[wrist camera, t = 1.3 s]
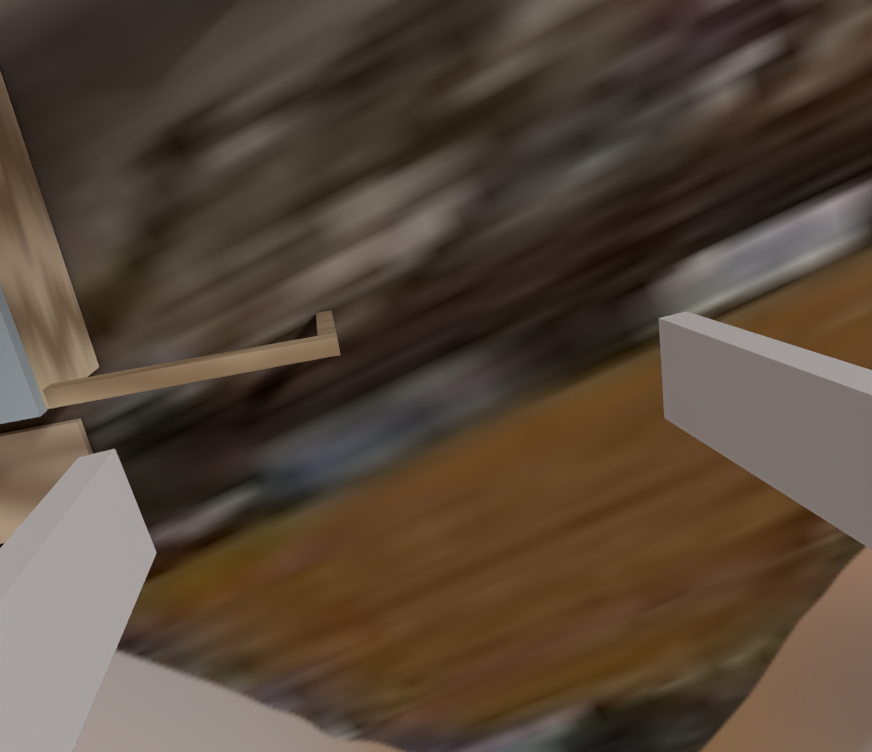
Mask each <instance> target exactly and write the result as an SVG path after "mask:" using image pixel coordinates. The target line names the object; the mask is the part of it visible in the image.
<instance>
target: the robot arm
mask: <svg viewBox="0 0 872 752" xmlns="http://www.w3.org/2000/svg"><path fill="white" fill-rule="evenodd" d="M659 331H660V349H661V366H662V383H663V401H664V418H665V419H667V420H668V421H670V422H672V423H673V424H675V425H676V426H678V427H679V428H681V429H683V430H684V431H686V432H687V433H689V434H690V435H692V436H694V437H695V438H697V439H698V440H700V441H701V442H703V443H705V444H706V445H708V446H709V447H711V448H712V449H714V450H716V451H717V452H719V453H720V454H722V455H723V456H725V457H727V458H728V459H730V460H731V461H733V462H735V463H736V464H738V465H739V466H741V467H742V468H744V469H746V470H747V471H749V472H750V473H752V474H753V475H755V476H757V477H758V478H760V479H761V480H763V481H764V482H766V483H768V484H769V485H771V486H772V487H774V488H775V489H777V490H779V491H780V492H782V493H783V494H785V495H786V496H788V497H790V498H791V499H793V500H794V501H796V502H797V503H799V504H801V505H802V506H804V507H805V508H807V509H808V510H810V511H812V512H813V513H815V514H816V515H818V516H820V517H821V518H823V519H824V520H826V521H827V522H829V523H831V524H832V525H834V526H835V527H837V528H838V529H840V530H842V531H843V532H845V533H846V534H848V535H849V536H851V537H853V538H854V539H856V540H857V541H859V542H860V543H862V544H864V545H865V546H867V547H868V548H870V549H872V370H869V369H866V368H863V367H860V366H856V365H853V364H850V363H847V362H844V361H841V360H837V359H834V358H831V357H828V356H825V355H822V354H819V353H815V352H812V351H809V350H806V349H803V348H800V347H797V346H793V345H790V344H787V343H784V342H781V341H778V340H774V339H771V338H768V337H765V336H762V335H759V334H756V333H752V332H749V331H746V330H743V329H740V328H737V327H733V326H730V325H727V324H724V323H721V322H718V321H715V320H711V319H708V318H705V317H702V316H699V315H696V314H692V313H689V312H683V313H679V314H674V315H670V316H666V317H662V318H659ZM155 555H156V550H155V548H154V545H153V543H152V540H151V538H150V535H149V533H148V530H147V528H146V525H145V523H144V520H143V518H142V515H141V513H140V510H139V508H138V505H137V503H136V500H135V498H134V495H133V493H132V490H131V488H130V485H129V483H128V480H127V478H126V475H125V473H124V470H123V468H122V465H121V463H120V460H119V457H118V455H117V452H116V450H115V449H112V450H107V451H103V452H99V453H95V454H91V455H87V456H82V457H79V458H78V459H77V460H76V461H75V462H74V463H73V465H72V466H71V467H70V468H69V469H68V470H67V472H66V473H65V474H64V475H63V476H62V477H61V478H60V480H59V481H58V482H57V483H56V484H55V485H54V487H53V488H52V489H51V490H50V491H49V492H48V494H47V495H46V496H45V497H44V498H43V499H42V501H41V502H40V503H39V504H38V505H37V506H36V507H35V509H34V510H33V511H32V512H31V513H30V514H29V516H28V517H27V518H26V519H25V520H24V521H23V523H22V524H21V525H20V526H19V527H18V528H17V529H16V531H15V532H14V533H13V534H12V535H11V536H10V538H9V539H8V540H7V541H6V542H5V543H4V545H3V546H2V547H1V548H0V752H73V751H74V748H75V746H76V743H77V741H78V739H79V736H80V734H81V731H82V729H83V727H84V724H85V722H86V719H87V717H88V715H89V712H90V710H91V707H92V705H93V703H94V700H95V698H96V696H97V693H98V691H99V688H100V686H101V684H102V681H103V679H104V677H105V674H106V672H107V669H108V667H109V665H110V662H111V660H112V657H113V655H114V653H115V650H116V648H117V646H118V643H119V641H120V638H121V636H122V634H123V631H124V629H125V627H126V624H127V622H128V619H129V617H130V615H131V612H132V610H133V607H134V605H135V603H136V600H137V598H138V596H139V593H140V591H141V588H142V586H143V584H144V581H145V579H146V576H147V574H148V572H149V569H150V567H151V565H152V562H153V560H154V557H155Z"/></svg>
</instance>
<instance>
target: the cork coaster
mask: <svg viewBox="0 0 872 752" xmlns="http://www.w3.org/2000/svg"><path fill="white" fill-rule="evenodd" d="M91 454H93V452H92V449H91V446H90V443H89V441H88V438H87V435H86V432H85V429H84V427H83V424H82V421H81V418H80V419H75V420H69V421H64V422H59V423H53V424H48V425H43V426H38V427H32V428H27V429H22V430H16V431H11V432H6V433H1V434H0V544H2V543H5V542H6V541H7V540H8V539H9V538H10V536H11V535H12V534H13V533H14V532H15V531H16V529H17V528H18V527H19V526H20V525H21V524H22V523H23V521H24V520H25V519H26V518H27V517H28V516H29V514H30V513H31V512H32V511H33V510H34V509H35V507H36V506H37V505H38V504H39V503H40V502H41V501H42V499H43V498H44V497H45V496H46V495H47V494H48V492H49V491H50V490H51V489H52V488H53V487H54V485H55V484H56V483H57V482H58V481H59V480H60V478H61V477H62V476H63V475H64V474H65V473H66V472H67V470H68V469H69V468H70V467H71V466H72V465H73V463H74V462H75V461H76V460H77V459H78V458H79V457H82V456H87V455H91Z"/></svg>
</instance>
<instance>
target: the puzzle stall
mask: <svg viewBox="0 0 872 752" xmlns="http://www.w3.org/2000/svg"><path fill="white" fill-rule="evenodd" d="M0 286H1V288H2V291H3V294H4V296H5V299H6V302H7V304H8V307H9V310H10V312H11V315H12V318H13V320H14V323H15V326H16V329H17V331H18V334H19V337H20V339H21V342H22V345H23V347H24V350H25V353H26V355H27V358H28V361H29V363H30V366H31V369H32V371H33V374H34V377H35V380H36V382H37V385H38V388H39V390H40V393H41V396H42V398H43V401H44V404H45V406H46V409H51V408H56V407H62V406H67V405H72V404H78V403H83V402H89V401H94V400H99V399H105V398H110V397H116V396H121V395H126V394H132V393H137V392H142V391H148V390H153V389H159V388H164V387H169V386H175V385H180V384H186V383H191V382H196V381H202V380H207V379H213V378H218V377H223V376H229V375H234V374H240V373H245V372H250V371H256V370H261V369H267V368H272V367H277V366H283V365H288V364H293V363H299V362H304V361H310V360H315V359H320V358H326V357H331V356H337V355H340V350H339V345H338V340H337V335H336V330H335V325H334V320H333V315H332V310H331V311H325V312H319V313H316V320H317V335H318V336H314V337H309V338H303V339H298V340H292V341H286V342H281V343H275V344H270V345H264V346H259V347H253V348H248V349H242V350H236V351H231V352H225V353H220V354H214V355H209V356H203V357H197V358H192V359H186V360H181V361H175V362H170V363H164V364H158V365H153V366H147V367H142V368H136V369H131V370H125V371H119V372H114V373H108V374H103V375H97V376H92V377H88V376H89V375H90V374H92V373H93V372H94V371H95V370H96V369H98V368H99V365H98V362H97V359H96V356H95V353H94V350H93V347H92V344H91V341H90V338H89V335H88V332H87V329H86V326H85V323H84V320H83V317H82V314H81V311H80V308H79V305H78V302H77V299H76V296H75V293H74V290H73V287H72V284H71V281H70V278H69V275H68V272H67V269H66V266H65V263H64V260H63V257H62V254H61V251H60V248H59V245H58V242H57V239H56V236H55V233H54V230H53V227H52V224H51V221H50V218H49V215H48V212H47V209H46V206H45V203H44V200H43V197H42V194H41V191H40V188H39V185H38V182H37V179H36V176H35V173H34V170H33V167H32V164H31V161H30V158H29V155H28V152H27V149H26V146H25V143H24V140H23V137H22V134H21V131H20V128H19V125H18V122H17V119H16V116H15V113H14V110H13V107H12V104H11V101H10V98H9V95H8V92H7V89H6V86H5V83H4V80H3V77H2V74H1V71H0Z"/></svg>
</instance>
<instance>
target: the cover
mask: <svg viewBox="0 0 872 752" xmlns="http://www.w3.org/2000/svg"><path fill="white" fill-rule="evenodd" d="M46 411H47V409H46V406H45V404H44V401H43V398H42V396H41V393H40V390H39V388H38V385H37V382H36V380H35V377H34V374H33V371H32V369H31V366H30V363H29V361H28V358H27V355H26V353H25V350H24V347H23V345H22V342H21V339H20V337H19V334H18V331H17V329H16V326H15V323H14V320H13V318H12V315H11V312H10V310H9V307H8V304H7V302H6V299H5V296H4V294H3V291H2V288H1V286H0V424H3V423H8V422H14V421H19V420H25V419H30V418H35V417H40V416H42V415H43V414H44V413H45V412H46Z"/></svg>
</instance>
